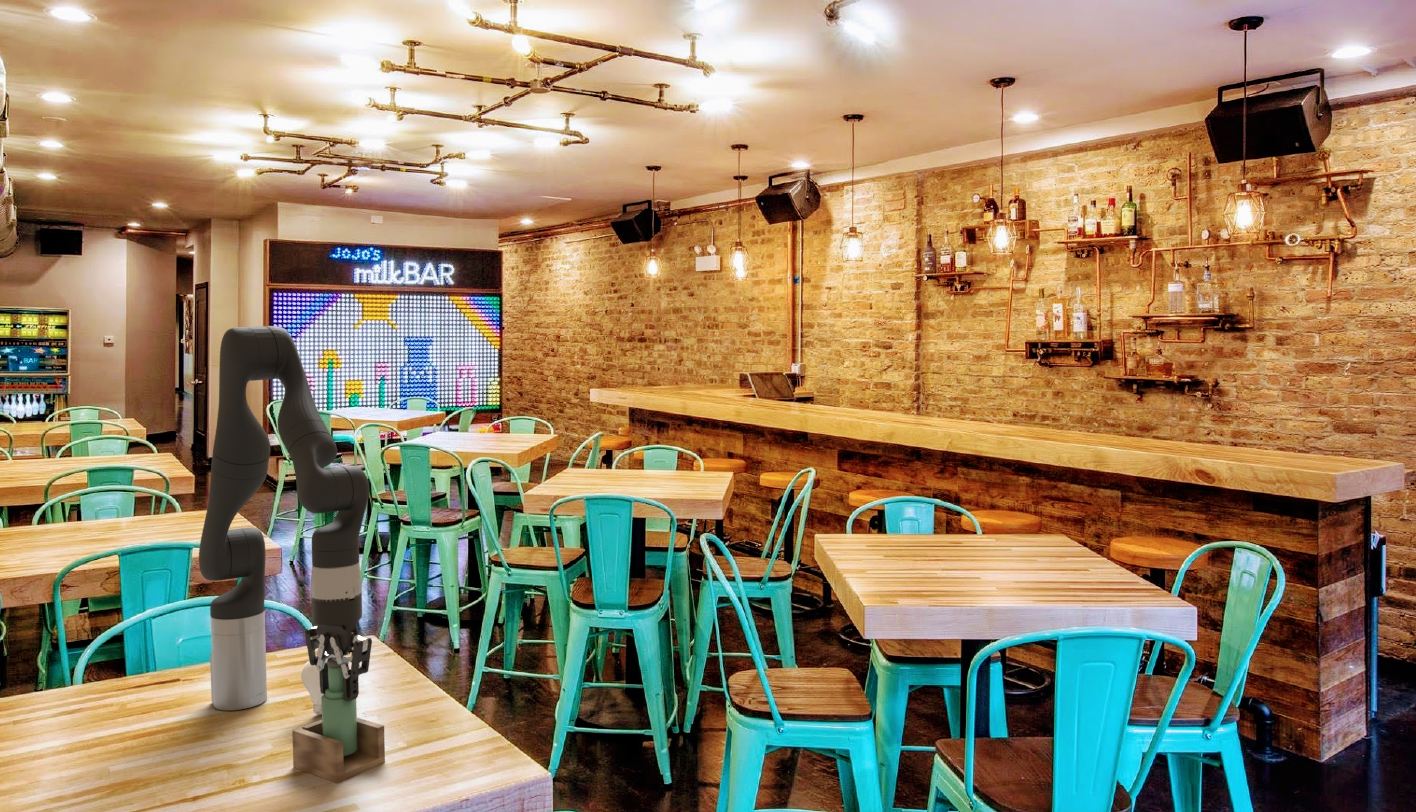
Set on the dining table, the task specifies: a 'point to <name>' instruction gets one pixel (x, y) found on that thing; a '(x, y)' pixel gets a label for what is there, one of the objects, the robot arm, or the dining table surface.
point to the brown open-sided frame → (337, 751)
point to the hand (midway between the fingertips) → (339, 695)
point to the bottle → (339, 711)
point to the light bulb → (313, 686)
